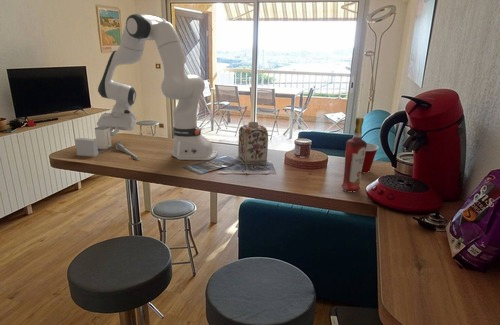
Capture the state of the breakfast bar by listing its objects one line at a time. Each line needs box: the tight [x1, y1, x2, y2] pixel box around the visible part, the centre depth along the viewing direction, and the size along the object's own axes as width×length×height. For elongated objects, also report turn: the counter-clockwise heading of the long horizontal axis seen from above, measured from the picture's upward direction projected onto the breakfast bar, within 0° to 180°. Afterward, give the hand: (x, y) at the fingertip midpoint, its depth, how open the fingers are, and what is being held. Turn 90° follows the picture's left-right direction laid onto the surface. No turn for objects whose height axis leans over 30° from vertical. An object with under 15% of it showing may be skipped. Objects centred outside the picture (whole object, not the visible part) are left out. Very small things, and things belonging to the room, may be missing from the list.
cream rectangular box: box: [94, 126, 113, 150], centre depth 166 cm, size 5×5×11 cm
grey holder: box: [74, 137, 115, 158], centre depth 161 cm, size 14×18×9 cm
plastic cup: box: [362, 142, 380, 173], centre depth 146 cm, size 11×11×12 cm
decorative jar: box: [237, 121, 269, 163], centre depth 159 cm, size 12×12×18 cm
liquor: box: [341, 116, 368, 193], centre depth 122 cm, size 7×7×28 cm
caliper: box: [115, 140, 141, 161], centre depth 160 cm, size 20×1×6 cm, turn 49°
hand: (111, 135), depth 174 cm, fingers closed
